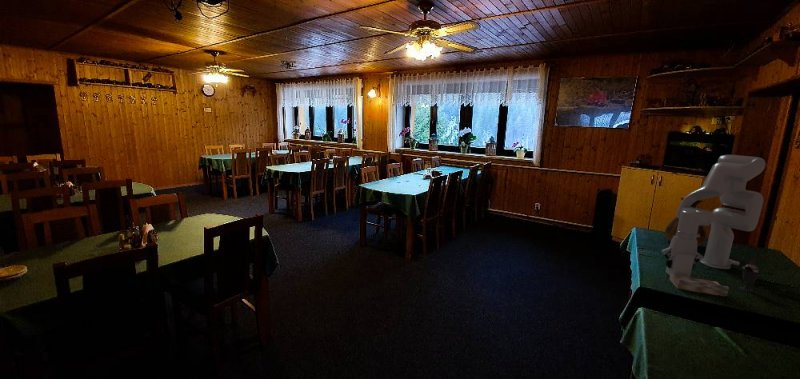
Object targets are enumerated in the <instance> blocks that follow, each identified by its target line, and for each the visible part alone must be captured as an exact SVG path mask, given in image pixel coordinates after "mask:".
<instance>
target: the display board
mask: <svg viewBox="0 0 800 379" xmlns="http://www.w3.org/2000/svg"><path fill="white" fill-rule="evenodd" d="M669 276H670V277H669V280H670V282H671V283H672V284H673V285H674V287H675V288H676V289H678V290H684V291H689V292H695V293H703V294H707V295H708V294H709V295H715V296H719V295H720V296H721V297H725V296H726V297H728V293H729V289H730V287H729V286H727V285H721V284H720V283H719V282H718V281H714V280H713V281H712V280H708V279H701V278H695V277H694V278H693V277H691V276H690V277H683V276H677V275H669Z"/></svg>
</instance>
